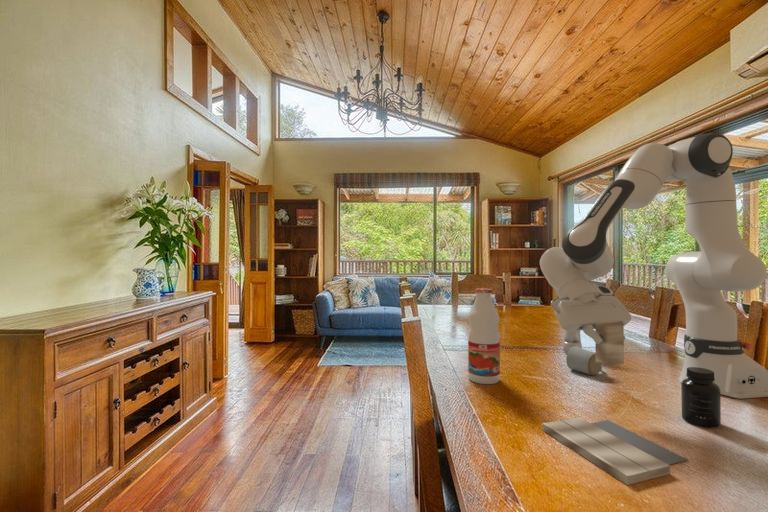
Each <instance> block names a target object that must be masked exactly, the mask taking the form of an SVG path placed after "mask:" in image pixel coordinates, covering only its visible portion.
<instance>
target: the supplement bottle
mask: <svg viewBox="0 0 768 512" xmlns="http://www.w3.org/2000/svg"><path fill="white" fill-rule="evenodd" d="M686 376H687V377H688V378H687V379H684V380H683V381H682V383H681V382H680V383H681V384H680V386H681V395H680V396H681V397H680V398H681V400H680V401H681V418H682V420H684V421H685V422H686V423H689V424H690V425H693V426H697V427H700V428H705V429H717V428H719V427H721V425H722V423H721V421H722V420H721V419H722V417H721V416H722V411H721V410H722V408H721V407H722V405H721V404H722V403H721V395H722V394H721V391H720V388H719V386H718V385H717V384H715V383H714V382H713V381H715V378H714V372H713V371H711V370H708V369H704V368H698V367H689V368H687V374H686Z"/></svg>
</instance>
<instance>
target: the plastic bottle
mask: <svg viewBox="0 0 768 512" xmlns="http://www.w3.org/2000/svg"><path fill="white" fill-rule="evenodd" d="M563 337H564V338H563V343H562V350H563V352H564V353H566V354H567V353H568V351H569V350H570V349H571V348H572V347H579V348H582V349H583V346H582V341H581V340H582V338H581V330H579V331H566V330H564V336H563Z"/></svg>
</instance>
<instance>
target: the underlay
mask: <svg viewBox="0 0 768 512" xmlns="http://www.w3.org/2000/svg"><path fill="white" fill-rule="evenodd" d="M590 423H591V424H593V425H594V426H596V427H598V428H600V429H602V430H604V431H606V432H608V433H610V434H611V435H613V436H615V437H617V438H619V439H621V440H623V441H625V442H627V443H628V444H630V445H632V446H634V447H636V448H638V449H640V450H642V451H644V452H645V453H647V454H649V455H651V456H653V457H655V458H657V459H659V460H661V461H662V462H664V463H666V464H668V465H670V466H671V465H675V464H676V465H677V464H679V463H683V462H686V461H687V462H688V461H689V459H688V458H686V457H684V456H682V455H679V454H677V453H676V452H674V451H672V450H669V449H668V448H665V447H664V446H661V445H659V444H658V443H655V442H654V441H652V440H649V439H648V438H645V437H643V436H642V435H639V434H637V433H635V432H634V431H631V430H629V429H627V428H625V427H623V426H621V425H618V424H616V423H615V422H613V421H611V420H609V419H606V420H602V421H601V420H600V421H595V422H590Z"/></svg>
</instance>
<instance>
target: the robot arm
mask: <svg viewBox="0 0 768 512" xmlns="http://www.w3.org/2000/svg"><path fill="white" fill-rule="evenodd" d="M733 151H734V150H733V144H732V142H731V141H730V140H729V138H727V137H726V136H725V135H724V134H723V133H720V132H708V133H703V134H698V135H697V136H693V137H688V138H685V139H681V140H679V141H676V142H675V143H672V144H669V145H668V146H667V145H665V144H662V143H657V142H652V143H651V142H650V143H645V144H643V145H641V146H640V147H639V148H637V149H636V151H634V152H633V154H632V155H631V156H630V157H629V159H628V160H627V161H626V162H625V164H624V165H623V166H622V168H621V169H620V170H619V173H618V174H617V176H616V177H615V179H614V180H613V181H612V182H611V183H610V184H609V185H608V186H606V188H605V189H604V190H603V191H602V193H601V194H600V195H599V197H598V198H597V199H596V201H594V203H593V205H591V207H590V209H588V211H587V213H586V214H585V215H584V216H583V217H582V218H581V220H579V221H578V222H577V223H576V224H574V225H573V226H572V227H571V228H570V229H568V231H566V232H565V234H564V235H563V238H562V241H561V247H559V246H553V247H551V248H548V249H547V250H546V251H544V253H543V254H541V257H540V259H539V266H540V270H541V272H542V274H543V276H544V277H545V279H546V281H547V282H548V284H549V285H550V287H552V288H553V289H554V290H555V292H556V295H557V297H558V298H557V297H554V298H552V300H551V301H550V306H551V308H552V309H553V311H554V314H555V315H554V316H555V317H556V320H557V321H558V323H559V325H560V327H561V328H562V329H563V330H564V331H565V330H566V331H579V330H580V331H583V333H584V334H585V335H586V336H588V337H589V338H590V339H593V341H594V342H595V345H596V344H602V343H603V342H605V338H604V337H603V336H602V334H598V333H597V332H596V331H595V323H596V322H601V321H616V322H621V323H624V327H625V326H626V325H628V324H629V323H630V322H631V321H632V315H631V313H630V312H629V310H628V308H626V306H625V305H623V303H622V301H620V300H619V298H617V297H616V296H614V291H613V290H612V289H611V288H609V287H606V286H602V285H599V284H595V283H594V282H592V281H594V280H596V279H599V278H601V277H603V276H605V275H608V274H609V272H611V270H612V269H613V268H614V265H615V257H614V254H613V252H612V250H611V248H610V246H609V244H608V238H607V237H608V236H607V233H608V230H609V227H610V226H611V225H612V223H613V222H614V221H615V219H616V218H617V217H618V216H619V214H620V212H621V211H622V210H623V209H628V210H639V209H643V208H645V207H647V206H648V205H650V203H652V201H654V200H655V198H656V196H658V193H659V192H660V191H661V189H662V187H664V185H665V184H669V183H676V182H681V181H683V183H684V185H685V188H686V189H685V197H684V199H685V201H684V202H685V203H684V208H685V209H684V210H685V211H684V212H685V218H684V219H685V221H684V222H685V231H686V233H687V234H689V235H690V236H691V237H693V238H694V239H695V240H696V243H697V244H698V246H699V249H700V251H687V252H682V253H678V254H675V255H673V256H671V257H670V258H669V259H668V260H667V263H666V265H665V273H666V275H667V278H668V279H669V280H670V281H671V282H672V283H673V284H674V285H675V287H676V288H677V289H678V292H679V294H680V296H681V299H682V302H683V305H684V312H685V334H684V337H683V348H684V352H685V354H684V359H683V360H684V361H683V365H682V370H681V373H680V376H679V378H678V381H679V383H682V381H683V380H684V379H687V378H688V377H687V376H686V374H687V368H689V367H698V368H704V369H708V370H711V371H713V372H714V378H715V381H713V382H714V383H715V384H717V385H718V386H719V388H720V391H721V395H722V396H726V397H731V398H734V399H741V400H742V399H753V398H754V399H755V398H764V397H765V398H768V369H766V367H764V365H763V366H762V365H761V364H759V363H758V362H757V361H756V360H754V359H753V358H751V357H750V356H748V355H747V354H746V353H745V351H744V349H746V350H748V351H752V350H753V349H754V348H755V347H754V346H755V345H754V344H753V343H752V342H748V341H746V340H745V341H740V340H739V339H738V314H737V312H736V310H735V309H734V308H733V307H732V306H731V305H730V304H728V303H727V301H726V300H725V298H724V296H723V294H722V292H732V293H733V292H735V293H736V292H747V291H753V290H755V289H757V288H759V287H760V286H761V285H762V284H763V283H764V281H765V280H766V278H767V268H766V267H767V266H766V264H765V263H764V262H763V260H762V259H761V258H760V257H759V256H757V255H755V254H754V253H753V252H751V250H750V249H749V248H748V247H747V245H746V244H745V242H744V241H743V238H742V237H741V234H740V231H739V227H738V213H737V212H738V211H737V210H738V209H737V191H736V184H735V178H734V175H733V172H732V170H731V169H730V163H731V162H732V158H733V154H734V153H733ZM721 291H722V292H721ZM625 340H626V336H625V335H624V341H625Z"/></svg>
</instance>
